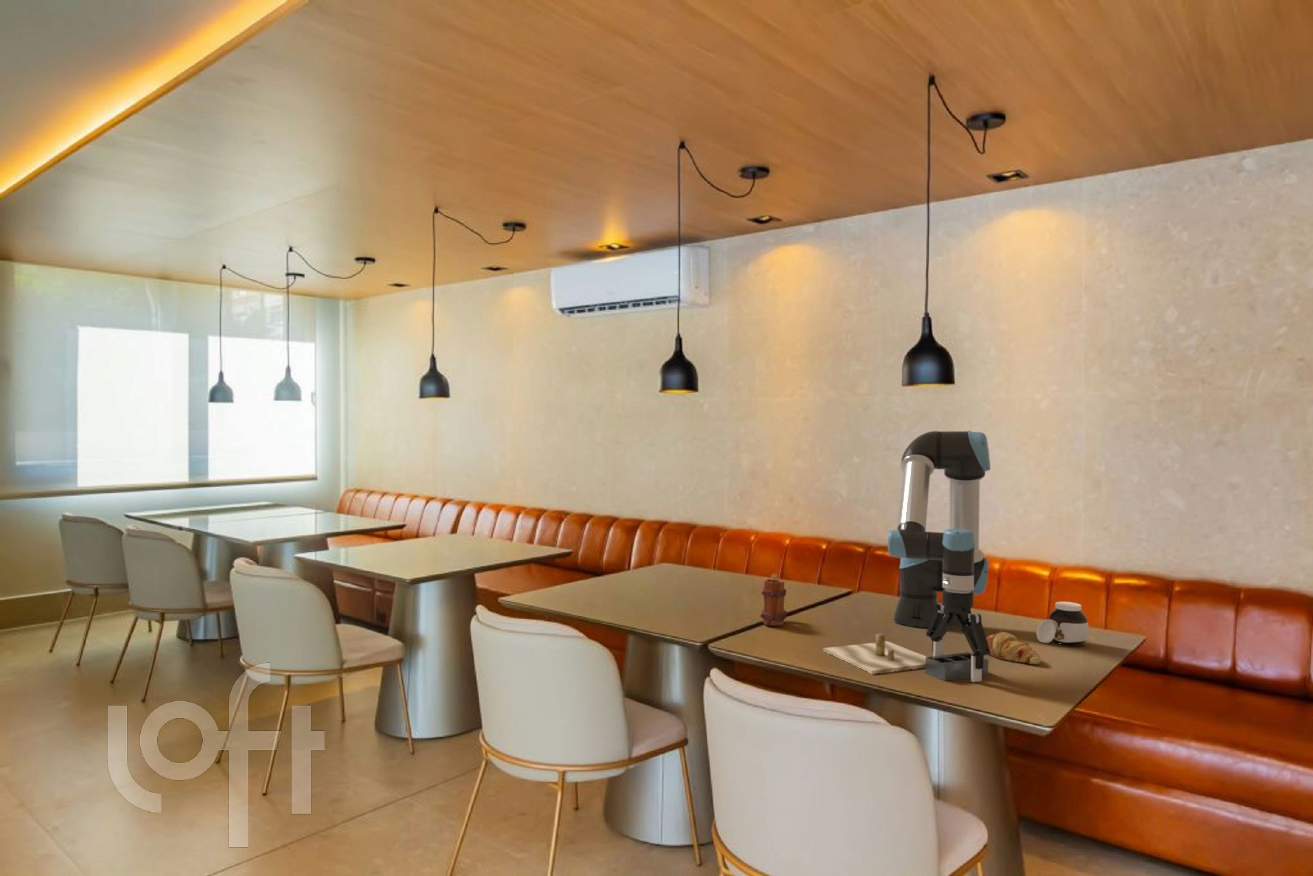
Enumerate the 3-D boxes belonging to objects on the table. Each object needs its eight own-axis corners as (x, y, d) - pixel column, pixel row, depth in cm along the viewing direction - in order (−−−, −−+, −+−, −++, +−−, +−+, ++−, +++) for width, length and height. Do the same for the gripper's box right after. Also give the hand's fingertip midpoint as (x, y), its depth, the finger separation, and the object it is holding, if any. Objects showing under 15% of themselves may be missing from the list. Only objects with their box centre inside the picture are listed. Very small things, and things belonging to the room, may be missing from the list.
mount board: (887, 644, 229) (887, 622, 229) (940, 665, 208) (940, 641, 208) (822, 651, 221) (823, 628, 220) (871, 674, 200) (872, 649, 200)
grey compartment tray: (968, 667, 207) (968, 652, 207) (988, 675, 201) (988, 659, 201) (925, 672, 202) (925, 657, 202) (944, 681, 195) (944, 664, 195)
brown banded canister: (785, 629, 246) (786, 581, 246) (759, 627, 247) (760, 580, 247) (787, 618, 260) (788, 573, 260) (762, 617, 262) (763, 571, 261)
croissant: (1047, 678, 210) (1056, 650, 211) (1025, 665, 205) (1035, 637, 207) (980, 656, 228) (990, 631, 230) (960, 644, 224) (969, 618, 226)
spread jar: (1092, 645, 230) (1092, 606, 230) (1069, 651, 224) (1069, 610, 224) (1053, 636, 240) (1053, 598, 240) (1030, 641, 234) (1031, 602, 234)
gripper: (913, 582, 211) (912, 661, 211) (983, 600, 188) (981, 689, 188) (935, 580, 214) (934, 659, 214) (1006, 599, 191) (1005, 686, 191)
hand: (956, 673), depth 201 cm, fingers open, 13 cm apart
